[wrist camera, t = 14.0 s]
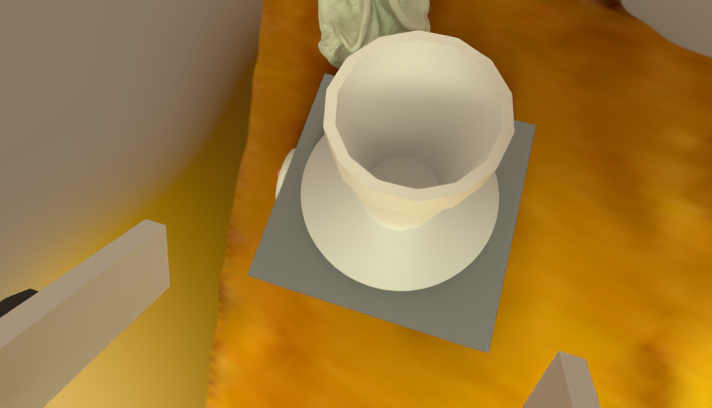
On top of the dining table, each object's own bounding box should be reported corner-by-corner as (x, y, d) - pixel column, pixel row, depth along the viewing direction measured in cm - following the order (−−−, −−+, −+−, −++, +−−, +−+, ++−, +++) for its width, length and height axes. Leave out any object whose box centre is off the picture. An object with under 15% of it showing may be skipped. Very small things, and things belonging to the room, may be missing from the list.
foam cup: (388, 273, 30) (397, 240, 18) (320, 181, 33) (287, 95, 20) (484, 203, 31) (556, 125, 19) (412, 119, 34) (434, 2, 21)
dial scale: (510, 156, 42) (545, 113, 33) (467, 347, 37) (496, 354, 28) (323, 108, 45) (310, 57, 36) (259, 279, 40) (226, 267, 31)
